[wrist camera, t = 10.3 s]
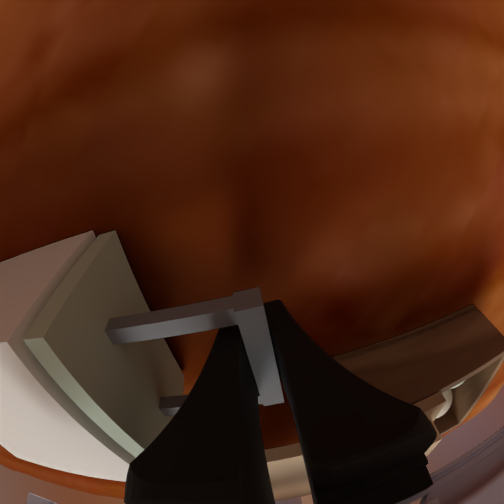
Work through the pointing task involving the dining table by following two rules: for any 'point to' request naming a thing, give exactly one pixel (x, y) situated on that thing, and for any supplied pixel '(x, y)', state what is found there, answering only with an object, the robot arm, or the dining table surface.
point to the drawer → (135, 345)
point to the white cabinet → (46, 374)
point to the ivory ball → (448, 402)
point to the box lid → (293, 467)
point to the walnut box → (434, 362)
